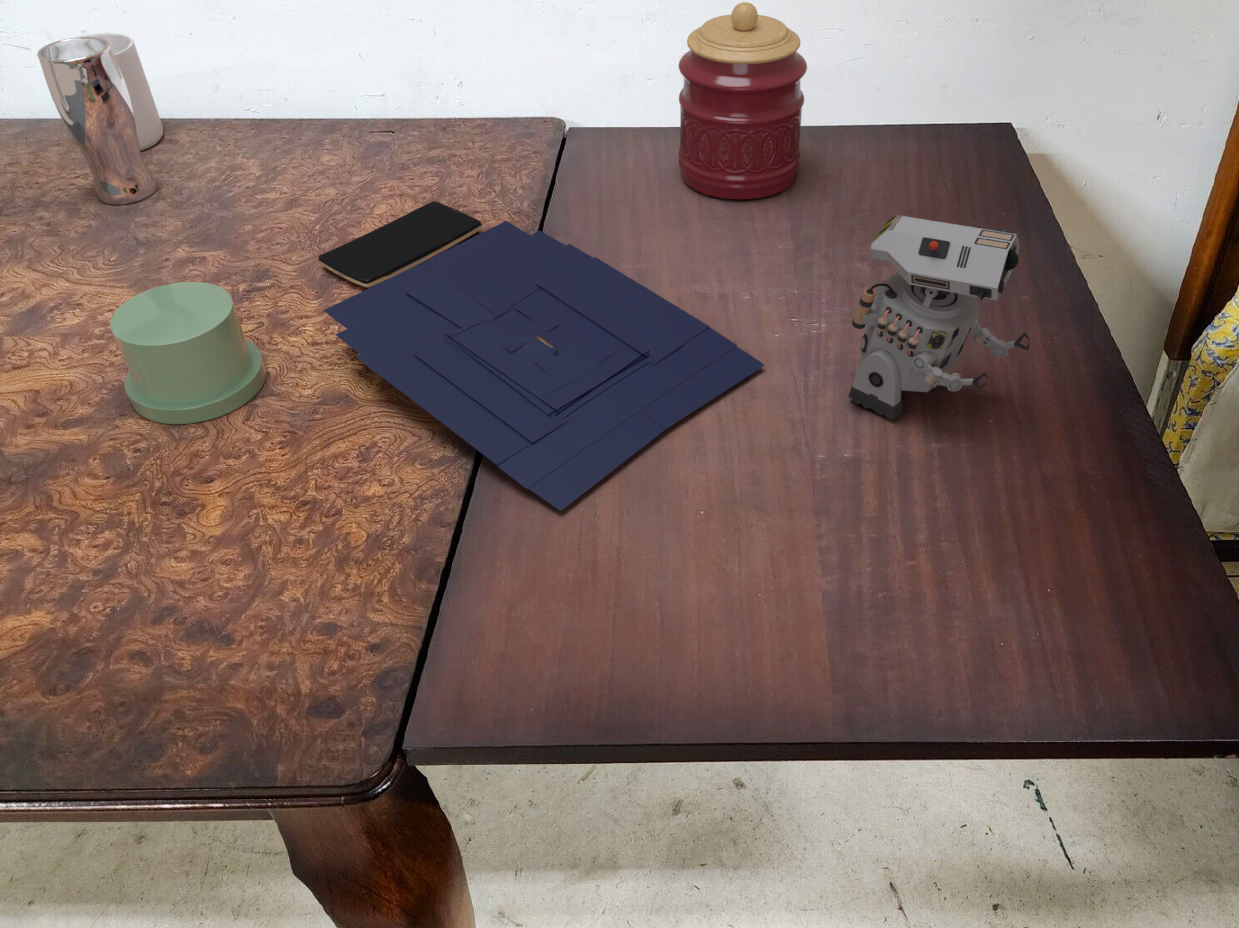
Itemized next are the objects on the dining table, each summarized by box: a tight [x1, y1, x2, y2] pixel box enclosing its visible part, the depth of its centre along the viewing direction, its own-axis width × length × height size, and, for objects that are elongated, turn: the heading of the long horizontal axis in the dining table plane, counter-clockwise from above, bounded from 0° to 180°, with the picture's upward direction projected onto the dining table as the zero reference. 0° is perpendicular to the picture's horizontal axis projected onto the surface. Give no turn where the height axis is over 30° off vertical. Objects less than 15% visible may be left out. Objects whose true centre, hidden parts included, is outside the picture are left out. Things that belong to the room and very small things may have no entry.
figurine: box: [848, 214, 1031, 420], centre depth 81 cm, size 9×12×15 cm
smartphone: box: [318, 200, 483, 288], centre depth 104 cm, size 7×1×15 cm
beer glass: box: [36, 36, 158, 206], centre depth 109 cm, size 7×7×15 cm
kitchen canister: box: [678, 1, 808, 200], centre depth 109 cm, size 13×13×18 cm
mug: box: [73, 32, 164, 152], centre depth 119 cm, size 9×12×11 cm
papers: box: [322, 220, 766, 512], centre depth 89 cm, size 24×30×4 cm
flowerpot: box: [109, 281, 267, 425], centre depth 86 cm, size 11×11×7 cm
